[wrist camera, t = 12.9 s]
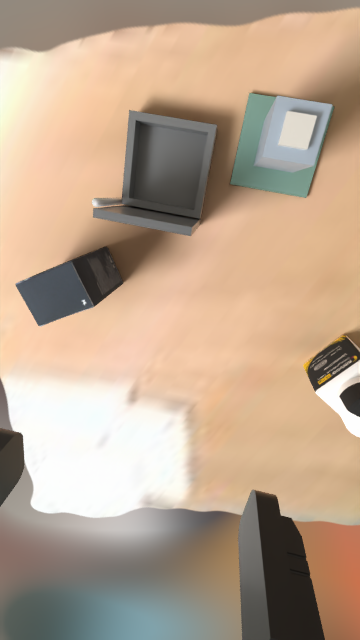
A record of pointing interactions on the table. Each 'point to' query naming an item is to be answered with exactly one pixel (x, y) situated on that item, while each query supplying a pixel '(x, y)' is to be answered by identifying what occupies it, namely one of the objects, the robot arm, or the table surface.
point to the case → (163, 174)
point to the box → (70, 286)
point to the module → (292, 134)
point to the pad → (247, 150)
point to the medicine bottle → (338, 379)
